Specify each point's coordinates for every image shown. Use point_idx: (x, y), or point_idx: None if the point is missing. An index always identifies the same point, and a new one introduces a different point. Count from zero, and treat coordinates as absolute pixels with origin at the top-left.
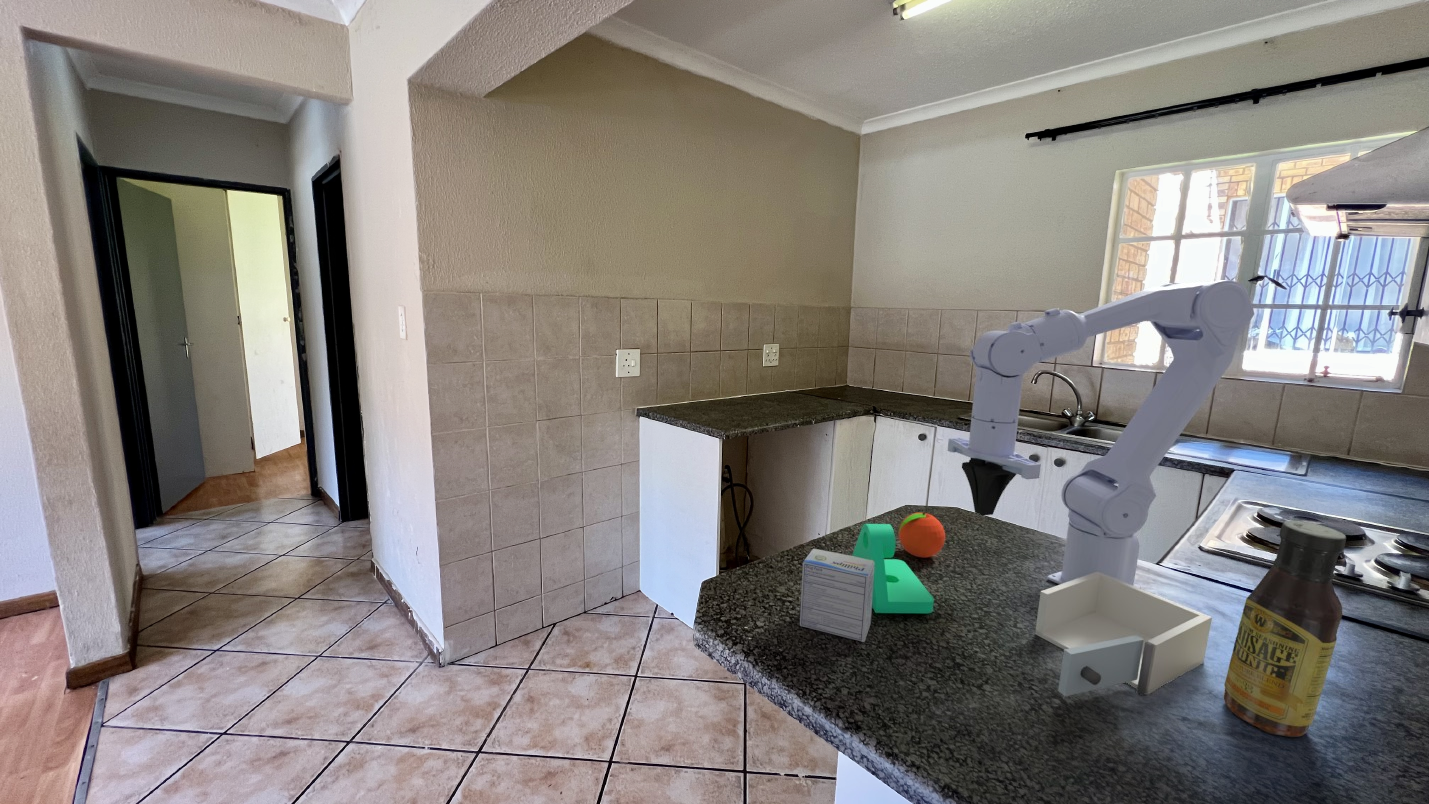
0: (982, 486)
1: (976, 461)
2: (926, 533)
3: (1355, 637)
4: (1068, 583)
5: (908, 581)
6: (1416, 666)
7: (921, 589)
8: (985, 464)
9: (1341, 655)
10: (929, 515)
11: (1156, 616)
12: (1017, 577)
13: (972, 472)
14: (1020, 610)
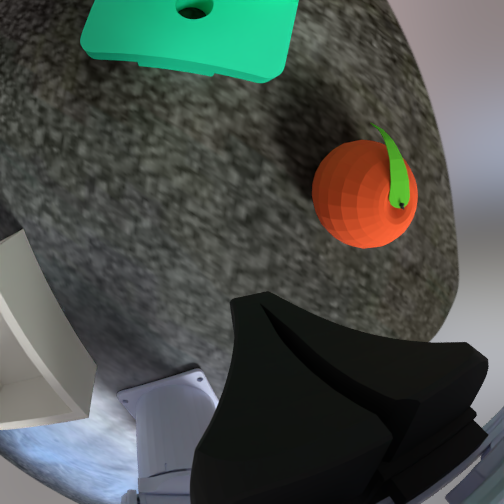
0: (253, 374)
1: (439, 452)
2: (341, 176)
3: (93, 498)
4: (24, 340)
5: (172, 32)
6: (59, 493)
7: (131, 43)
8: (381, 488)
9: (60, 478)
10: (395, 221)
11: (20, 402)
12: (215, 326)
13: (376, 385)
14: (92, 254)
